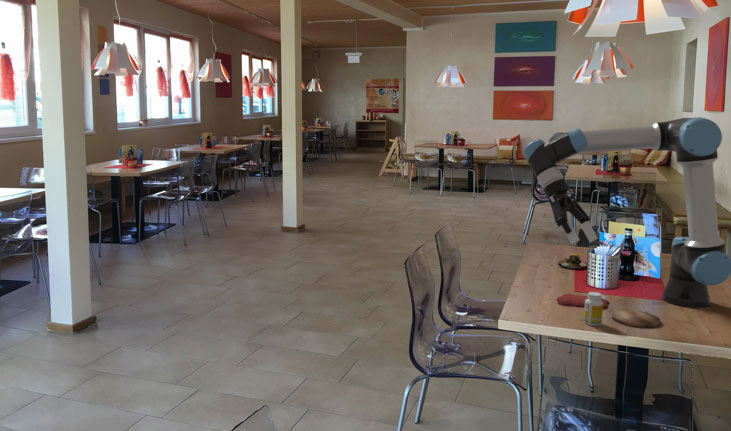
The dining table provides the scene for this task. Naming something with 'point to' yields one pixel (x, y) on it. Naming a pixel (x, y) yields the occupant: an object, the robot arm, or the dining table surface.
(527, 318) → the dining table surface
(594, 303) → the supplement bottle
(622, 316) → the plate
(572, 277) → the dining table surface
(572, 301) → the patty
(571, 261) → the burger
